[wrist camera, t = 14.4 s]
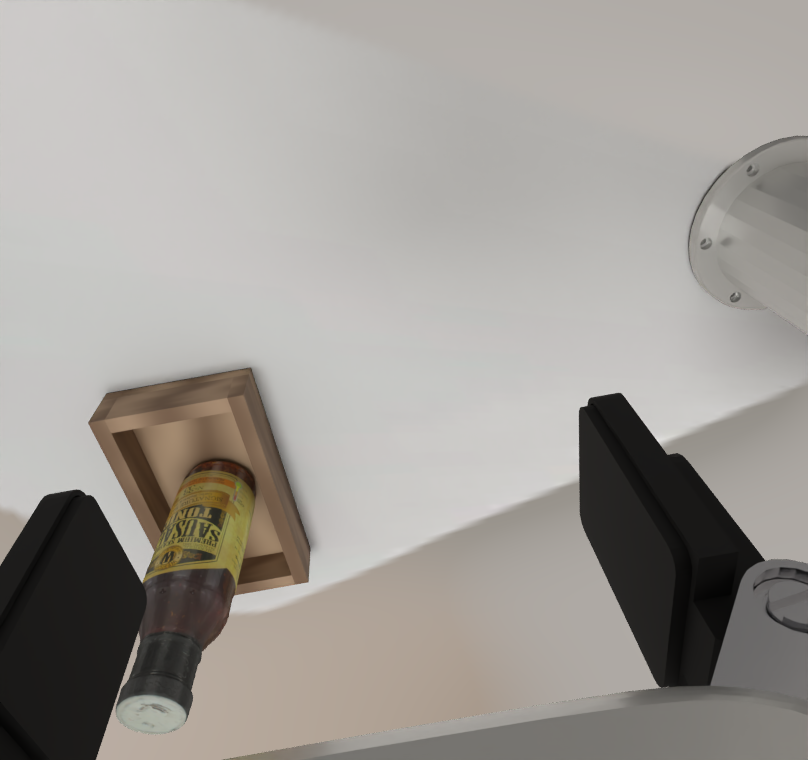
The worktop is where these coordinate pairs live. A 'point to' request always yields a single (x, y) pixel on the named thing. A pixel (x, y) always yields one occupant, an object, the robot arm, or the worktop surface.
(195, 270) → the worktop surface
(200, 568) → the sauce bottle
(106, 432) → the bottle tray
